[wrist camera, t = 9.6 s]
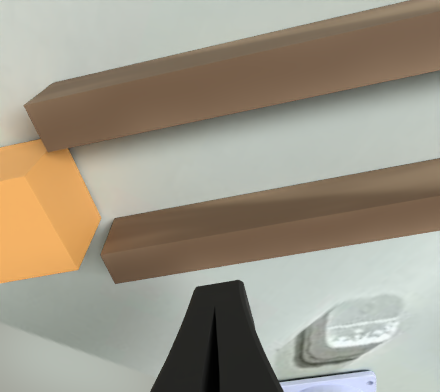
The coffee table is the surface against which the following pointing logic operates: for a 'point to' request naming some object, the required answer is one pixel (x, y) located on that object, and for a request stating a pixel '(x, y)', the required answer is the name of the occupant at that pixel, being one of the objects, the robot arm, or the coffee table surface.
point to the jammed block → (42, 212)
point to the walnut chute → (243, 101)
